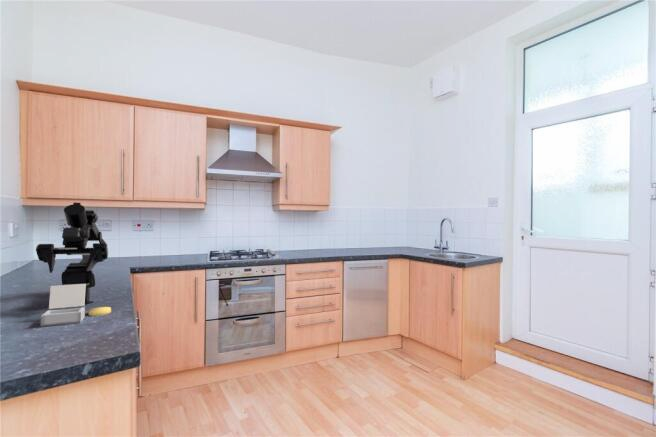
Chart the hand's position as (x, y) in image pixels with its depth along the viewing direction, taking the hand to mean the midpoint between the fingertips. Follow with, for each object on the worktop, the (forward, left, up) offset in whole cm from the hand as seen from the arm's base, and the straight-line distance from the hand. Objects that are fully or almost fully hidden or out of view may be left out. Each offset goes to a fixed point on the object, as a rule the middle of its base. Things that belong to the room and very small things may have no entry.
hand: (68, 271), depth 105 cm
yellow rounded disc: (-2, +9, -14) cm, 17 cm away
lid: (+3, +2, -7) cm, 8 cm away
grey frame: (+7, +5, -14) cm, 16 cm away
